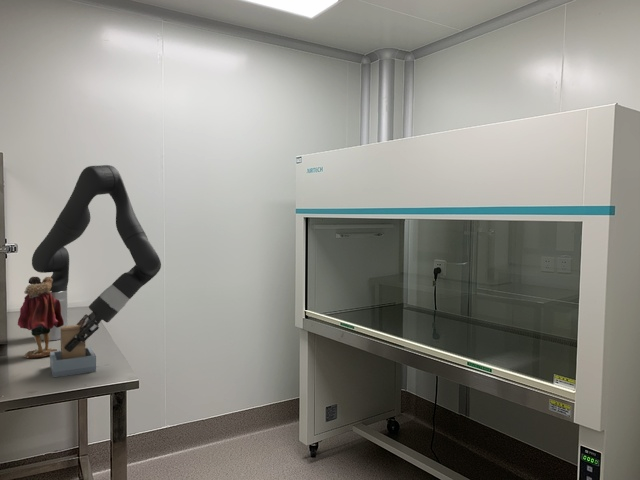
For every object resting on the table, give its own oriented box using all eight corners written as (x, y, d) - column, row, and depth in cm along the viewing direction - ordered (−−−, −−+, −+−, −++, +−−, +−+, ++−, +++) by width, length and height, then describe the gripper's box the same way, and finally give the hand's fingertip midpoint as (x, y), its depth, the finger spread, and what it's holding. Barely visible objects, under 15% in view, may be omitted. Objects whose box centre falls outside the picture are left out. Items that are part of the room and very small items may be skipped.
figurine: (54, 347, 166) (53, 274, 165) (68, 353, 160) (67, 277, 158) (13, 355, 157) (12, 277, 155) (26, 362, 150) (25, 280, 149)
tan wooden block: (60, 359, 145) (60, 326, 144) (83, 356, 148) (82, 324, 147) (62, 364, 140) (62, 330, 140) (85, 361, 144) (85, 327, 143)
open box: (50, 366, 146) (50, 351, 146) (90, 361, 152) (90, 346, 152) (53, 377, 137) (53, 361, 136) (96, 371, 143) (96, 356, 142)
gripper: (96, 291, 153) (53, 334, 147) (104, 299, 141) (57, 345, 135) (114, 307, 156) (73, 349, 151) (123, 315, 144) (78, 361, 138)
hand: (65, 347), depth 143 cm, fingers closed on tan wooden block, 5 cm apart
